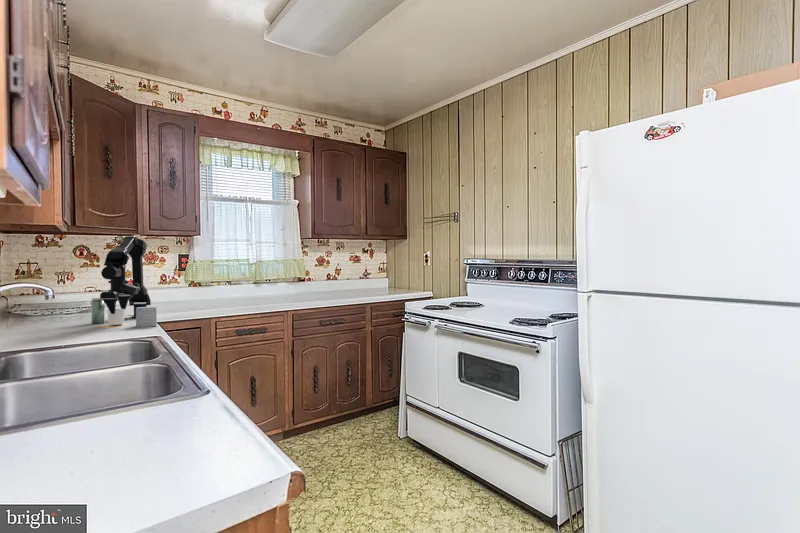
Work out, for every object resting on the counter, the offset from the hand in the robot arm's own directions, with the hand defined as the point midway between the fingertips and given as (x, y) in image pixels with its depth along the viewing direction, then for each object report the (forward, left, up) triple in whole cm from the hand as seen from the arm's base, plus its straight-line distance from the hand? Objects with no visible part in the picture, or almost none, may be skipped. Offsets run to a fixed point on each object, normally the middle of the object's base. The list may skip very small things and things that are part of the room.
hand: (118, 312), depth 194 cm
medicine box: (+5, +14, -6) cm, 16 cm away
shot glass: (+2, 0, -5) cm, 6 cm away
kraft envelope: (+2, -1, -6) cm, 6 cm away
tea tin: (-5, -11, -6) cm, 14 cm away
